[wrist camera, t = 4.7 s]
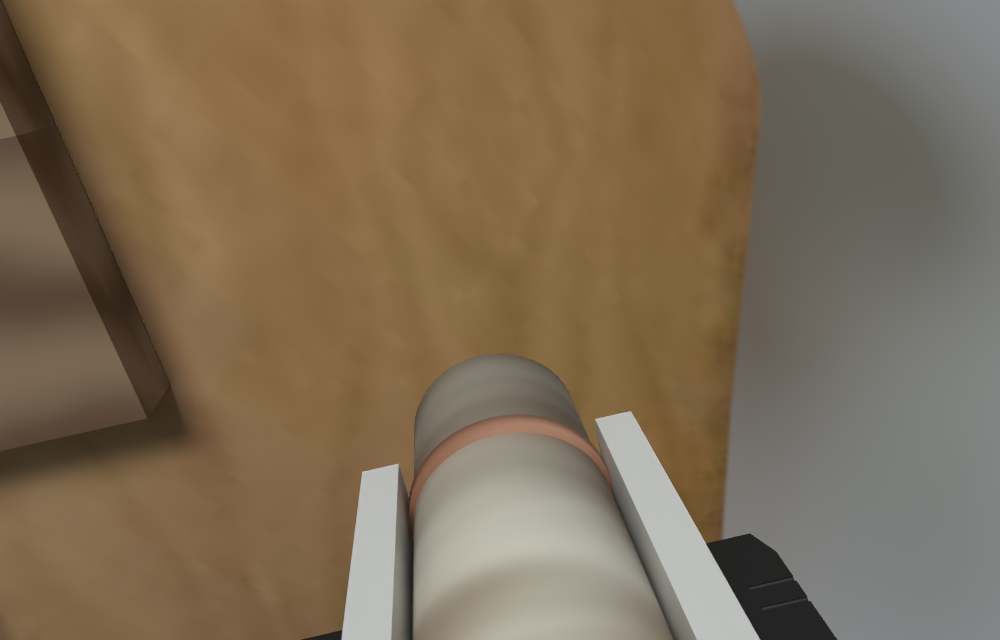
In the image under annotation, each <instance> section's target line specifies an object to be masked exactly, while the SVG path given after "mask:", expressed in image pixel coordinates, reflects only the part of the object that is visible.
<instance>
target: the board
mask: <svg viewBox="0 0 1000 640" xmlns="http://www.w3.org/2000/svg"><path fill="white" fill-rule="evenodd" d="M169 387H170V384H169V382H168V379H167V377H166V375H165V372H164V370H163V368H162V366H161V363H160V361H159V359H158V357H157V354H156V352H155V350H154V347H153V345H152V343H151V341H150V338H149V336H148V334H147V332H146V329H145V327H144V325H143V322H142V320H141V318H140V316H139V313H138V311H137V309H136V307H135V304H134V302H133V300H132V297H131V295H130V293H129V291H128V288H127V286H126V284H125V282H124V279H123V277H122V275H121V272H120V270H119V268H118V266H117V263H116V261H115V259H114V257H113V254H112V252H111V250H110V247H109V245H108V243H107V241H106V238H105V236H104V234H103V231H102V229H101V227H100V225H99V222H98V220H97V218H96V216H95V213H94V211H93V209H92V206H91V204H90V202H89V200H88V197H87V195H86V193H85V191H84V188H83V186H82V184H81V181H80V179H79V177H78V175H77V172H76V170H75V168H74V166H73V163H72V161H71V159H70V156H69V154H68V152H67V150H66V147H65V145H64V143H63V141H62V138H61V136H60V134H59V131H58V129H57V127H56V125H55V122H54V120H53V118H52V116H51V113H50V111H49V109H48V106H47V104H46V102H45V100H44V97H43V95H42V93H41V91H40V88H39V86H38V84H37V81H36V79H35V77H34V75H33V72H32V70H31V68H30V66H29V63H28V61H27V59H26V56H25V54H24V52H23V50H22V47H21V45H20V43H19V41H18V38H17V36H16V34H15V31H14V29H13V27H12V25H11V22H10V20H9V18H8V15H7V13H6V11H5V9H4V6H3V4H2V2H1V0H0V451H3V450H8V449H12V448H17V447H21V446H26V445H30V444H35V443H39V442H44V441H49V440H53V439H58V438H62V437H67V436H71V435H76V434H80V433H85V432H89V431H94V430H98V429H103V428H108V427H112V426H117V425H121V424H126V423H130V422H135V421H139V420H144V419H148V417H149V416H150V414H151V413H152V412H153V410H154V409H155V407H156V406H157V404H158V403H159V402H160V400H161V399H162V397H163V396H164V394H165V393H166V391H167V390H168V389H169Z"/></svg>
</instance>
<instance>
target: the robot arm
mask: <svg viewBox="0 0 1000 640" xmlns="http://www.w3.org/2000/svg"><path fill="white" fill-rule="evenodd" d="M595 421H596V427H597V434H598V440H599V446H600V452H601V457H602V459H603V461H604V463H605V465H606V468H607V470H608V472H609V475H610V477H611V481H612V487H613V494H614V499H615V502H616V504H617V507H618V509H619V511H620V514H621V516H622V518H623V521H624V523H625V525H626V528H627V530H628V533H629V535H630V537H631V540H632V542H633V544H634V547H635V549H636V551H637V554H638V556H639V558H640V561H641V563H642V566H643V568H644V570H645V573H646V575H647V577H648V580H649V582H650V584H651V587H652V589H653V592H654V594H655V596H656V599H657V601H658V603H659V606H660V608H661V610H662V613H663V615H664V618H665V620H666V622H667V625H668V627H669V629H670V632H671V634H672V636H673V639H674V640H837V639H836V637H835V636H834V634H833V633H832V632H831V630H830V629H829V627H828V626H827V624H826V623H825V621H824V620H823V619H822V617H821V616H820V615H819V613H818V612H817V610H816V608H815V607H814V606H813V604H812V603H811V601H808V599H807V596H806V594H805V593H804V591H803V590H802V588H801V587H800V585H799V584H798V583H797V581H794V578H793V575H792V574H791V572H790V571H789V570H788V568H787V567H786V565H785V564H784V562H783V561H782V559H781V558H780V557H779V555H778V554H777V552H776V551H774V550H773V549H772V548H770V547H769V546H767V545H766V544H764V543H763V542H761V541H760V540H759V539H757V538H755V537H754V536H753V535H751V534H746V535H742V536H737V537H733V538H728V539H724V540H720V541H715V542H711V543H707V544H706V543H705V541H704V540H703V538H702V536H701V534H700V533H699V531H698V529H697V527H696V525H695V524H694V522H693V520H692V518H691V517H690V515H689V513H688V511H687V510H686V508H685V506H684V504H683V502H682V501H681V499H680V497H679V495H678V494H677V492H676V490H675V488H674V487H673V485H672V483H671V481H670V480H669V478H668V476H667V474H666V472H665V471H664V469H663V467H662V465H661V464H660V462H659V460H658V458H657V457H656V455H655V453H654V451H653V449H652V448H651V446H650V444H649V442H648V441H647V439H646V437H645V435H644V434H643V432H642V430H641V428H640V426H639V425H638V423H637V421H636V419H635V418H634V416H633V414H632V412H631V411H629V412H625V413H620V414H616V415H611V416H607V417H603V418H598V419H595ZM408 516H409V497H408V493H407V490H406V487H405V483H404V480H403V477H402V473H401V470H400V467H399V464H395V465H391V466H386V467H382V468H377V469H373V470H369V471H364V472H362V479H361V487H360V495H359V503H358V511H357V519H356V527H355V535H354V543H353V551H352V559H351V567H350V575H349V583H348V591H347V599H346V607H345V615H344V623H343V630H341V631H337V632H332V633H328V634H324V635H320V636H315V637H311V638H307V639H302V640H413V537H412V534H411V531H410V527H409V521H408Z"/></svg>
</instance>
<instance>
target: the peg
mask: <svg viewBox="0 0 1000 640" xmlns="http://www.w3.org/2000/svg"><path fill="white" fill-rule="evenodd" d="M408 521H409V527H410V531H411V534H412V537H413V640H674V639H673V636H672V634H671V632H670V629H669V627H668V625H667V622H666V620H665V618H664V615H663V613H662V610H661V608H660V606H659V603H658V601H657V599H656V596H655V594H654V592H653V589H652V587H651V584H650V582H649V580H648V577H647V575H646V573H645V570H644V568H643V566H642V563H641V561H640V558H639V556H638V554H637V551H636V549H635V547H634V544H633V542H632V540H631V537H630V535H629V533H628V530H627V528H626V525H625V523H624V521H623V518H622V516H621V514H620V511H619V509H618V507H617V504H616V502H615V499H614V494H613V487H612V481H611V477H610V475H609V472H608V470H607V468H606V465H605V463H604V461H603V459H602V457H601V456H600V454H599V452H598V451H597V450H596V448H595V447H594V446H593V445H592V444H591V442H590V440H589V438H588V436H587V433H586V431H585V429H584V426H583V424H582V421H581V419H580V417H579V414H578V412H577V410H576V407H575V405H574V403H573V400H572V398H571V395H570V393H569V391H568V390H567V388H566V386H565V385H564V383H563V382H562V381H561V380H560V379H559V377H558V376H556V375H555V374H554V373H553V372H552V371H551V370H549V369H548V368H546V367H545V366H543V365H542V364H540V363H538V362H536V361H534V360H531V359H528V358H525V357H521V356H516V355H508V354H490V355H484V356H479V357H475V358H472V359H469V360H466V361H464V362H461V363H459V364H457V365H456V366H454V367H452V368H450V369H449V370H447V371H446V372H445V373H443V374H442V375H441V376H440V377H439V378H438V379H437V380H435V381H434V382H433V384H432V385H431V386H430V387H429V389H428V390H427V391H426V393H425V394H424V396H423V398H422V400H421V402H420V404H419V407H418V409H417V413H416V417H415V426H414V480H413V483H412V487H411V491H410V497H409V516H408Z"/></svg>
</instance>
